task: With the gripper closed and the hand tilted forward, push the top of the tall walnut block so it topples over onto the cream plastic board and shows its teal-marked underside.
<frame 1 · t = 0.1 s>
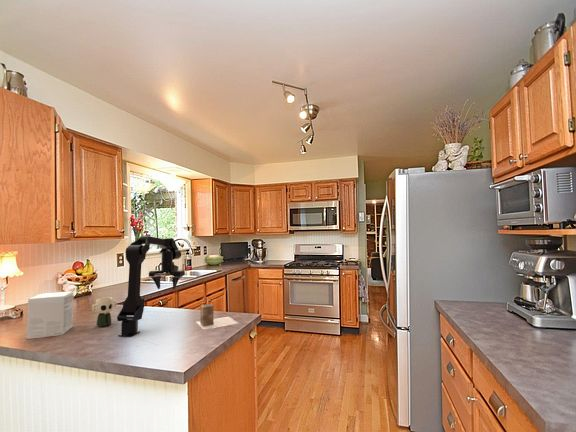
hand: (166, 289, 155), 15 cm above the countertop, fingers open, 9 cm apart
big eyed figurine: (104, 325, 140), on the countertop
cream board: (217, 323, 139), on the countertop
supplement box: (50, 333, 130), on the countertop
walnut block: (206, 324, 137), point 1 cm above the countertop, touching cream board
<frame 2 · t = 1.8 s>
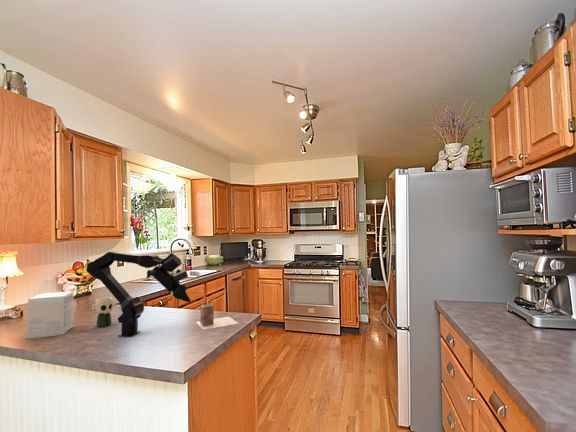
hand: (187, 299, 134), 13 cm above the countertop, fingers open, 9 cm apart
nothing on the countertop moved.
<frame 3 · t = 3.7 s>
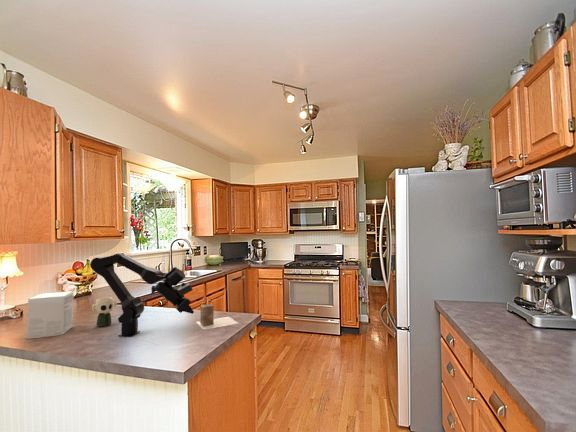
hand: (193, 312, 134), 7 cm above the countertop, fingers closed
nothing on the countertop moved.
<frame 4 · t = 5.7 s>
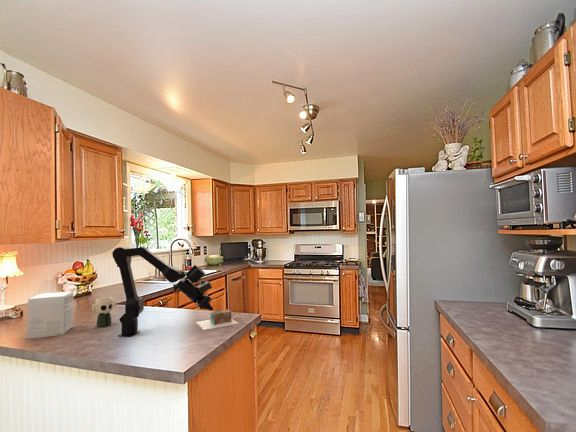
hand: (212, 309, 138), 7 cm above the countertop, fingers closed
walnut block: (212, 318, 138), point 3 cm above the countertop, tilted 90°, touching cream board
everything else where it was.
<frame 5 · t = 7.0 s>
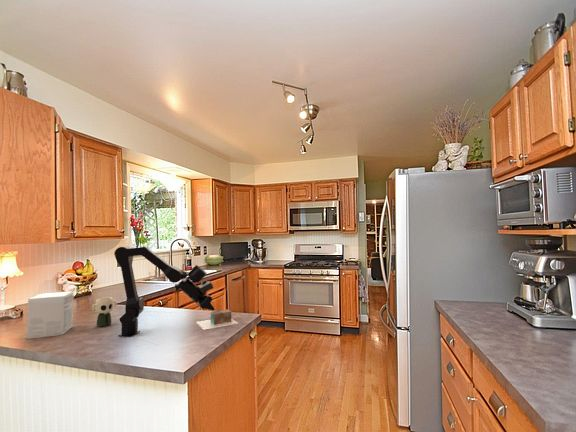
hand: (213, 309, 139), 7 cm above the countertop, fingers closed
nothing on the countertop moved.
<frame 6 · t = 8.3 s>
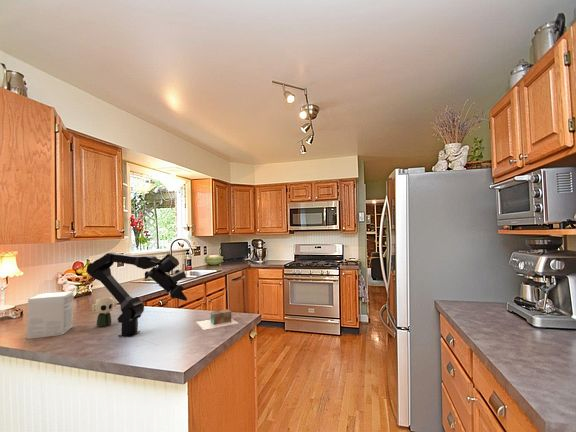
hand: (186, 300, 133), 13 cm above the countertop, fingers closed
nothing on the countertop moved.
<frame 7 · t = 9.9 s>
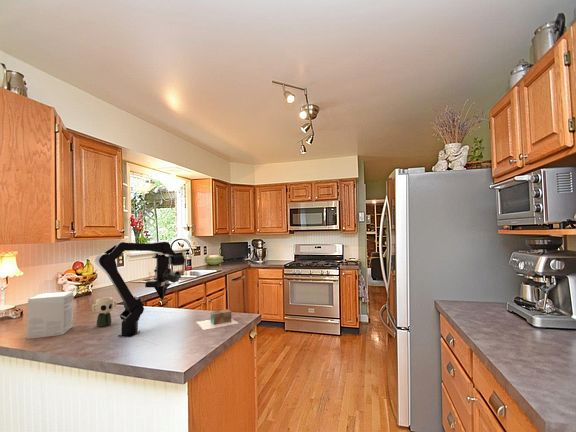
hand: (162, 299, 138), 13 cm above the countertop, fingers closed
nothing on the countertop moved.
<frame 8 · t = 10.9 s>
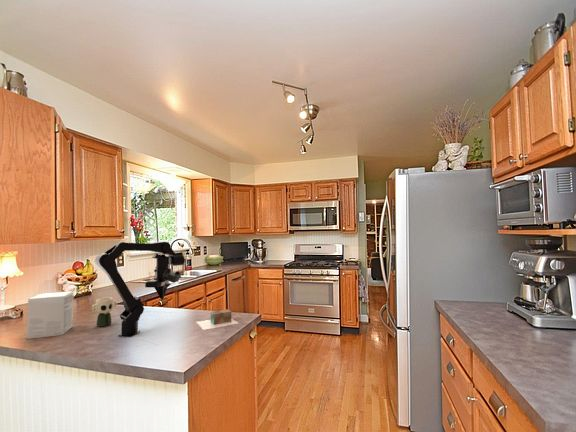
hand: (162, 299, 138), 13 cm above the countertop, fingers closed
nothing on the countertop moved.
at the end: walnut block tilted 90°; walnut block touching cream board; walnut block 2.5 cm from the cream board (horizontally) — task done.
